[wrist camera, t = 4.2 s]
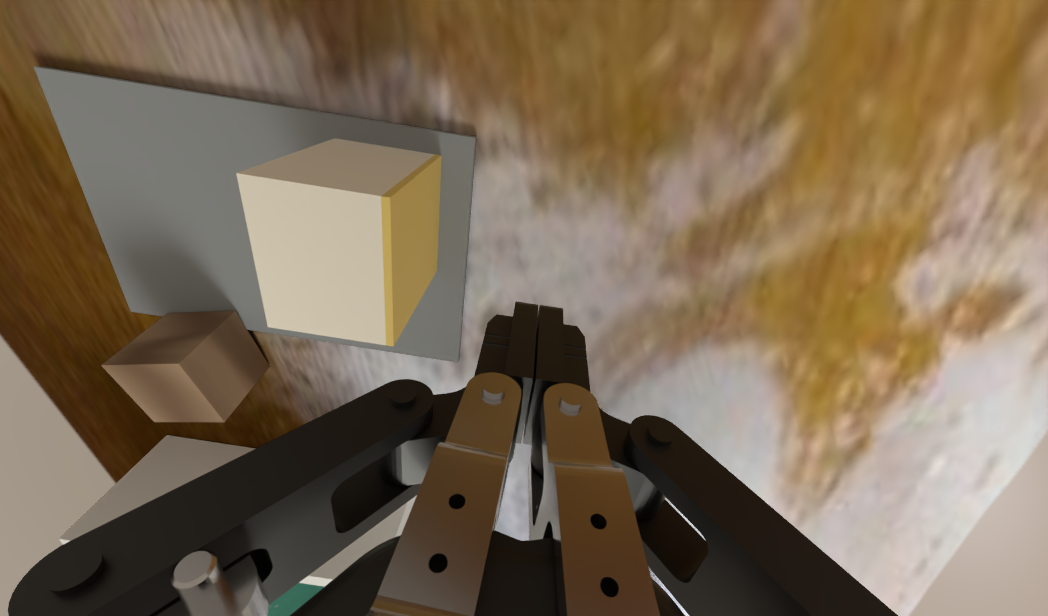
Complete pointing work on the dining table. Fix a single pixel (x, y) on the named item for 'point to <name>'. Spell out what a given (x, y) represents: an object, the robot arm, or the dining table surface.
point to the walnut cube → (189, 367)
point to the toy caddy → (192, 459)
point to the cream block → (343, 237)
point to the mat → (230, 196)
